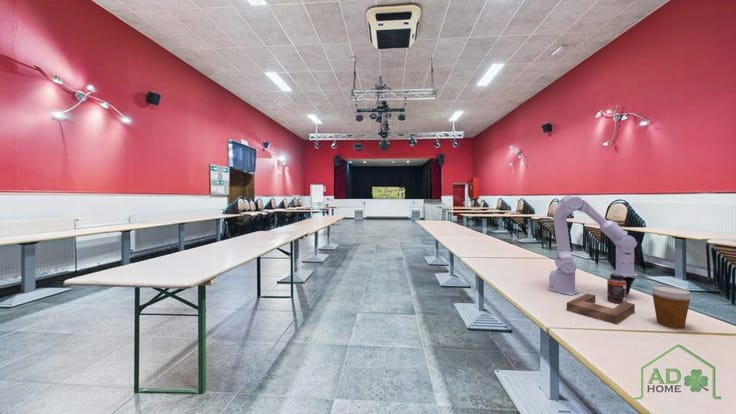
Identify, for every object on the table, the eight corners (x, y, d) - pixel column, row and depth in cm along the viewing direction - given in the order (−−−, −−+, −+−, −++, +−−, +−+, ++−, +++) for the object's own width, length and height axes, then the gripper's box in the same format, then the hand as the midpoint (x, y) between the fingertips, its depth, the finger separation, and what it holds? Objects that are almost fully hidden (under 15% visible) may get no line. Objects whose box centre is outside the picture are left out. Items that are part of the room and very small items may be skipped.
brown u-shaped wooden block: (566, 310, 108) (566, 302, 108) (586, 300, 118) (586, 293, 118) (616, 324, 95) (616, 315, 95) (634, 312, 105) (634, 304, 105)
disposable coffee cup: (701, 331, 89) (701, 293, 89) (670, 331, 90) (671, 294, 89) (669, 318, 99) (670, 284, 99) (642, 318, 99) (642, 285, 99)
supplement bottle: (630, 304, 112) (630, 276, 112) (613, 304, 113) (613, 276, 113) (620, 299, 118) (620, 272, 118) (604, 298, 119) (604, 272, 119)
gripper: (631, 266, 113) (631, 300, 113) (643, 261, 120) (642, 293, 121) (609, 263, 119) (609, 295, 119) (621, 259, 126) (621, 288, 127)
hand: (624, 293), depth 120 cm, fingers closed
